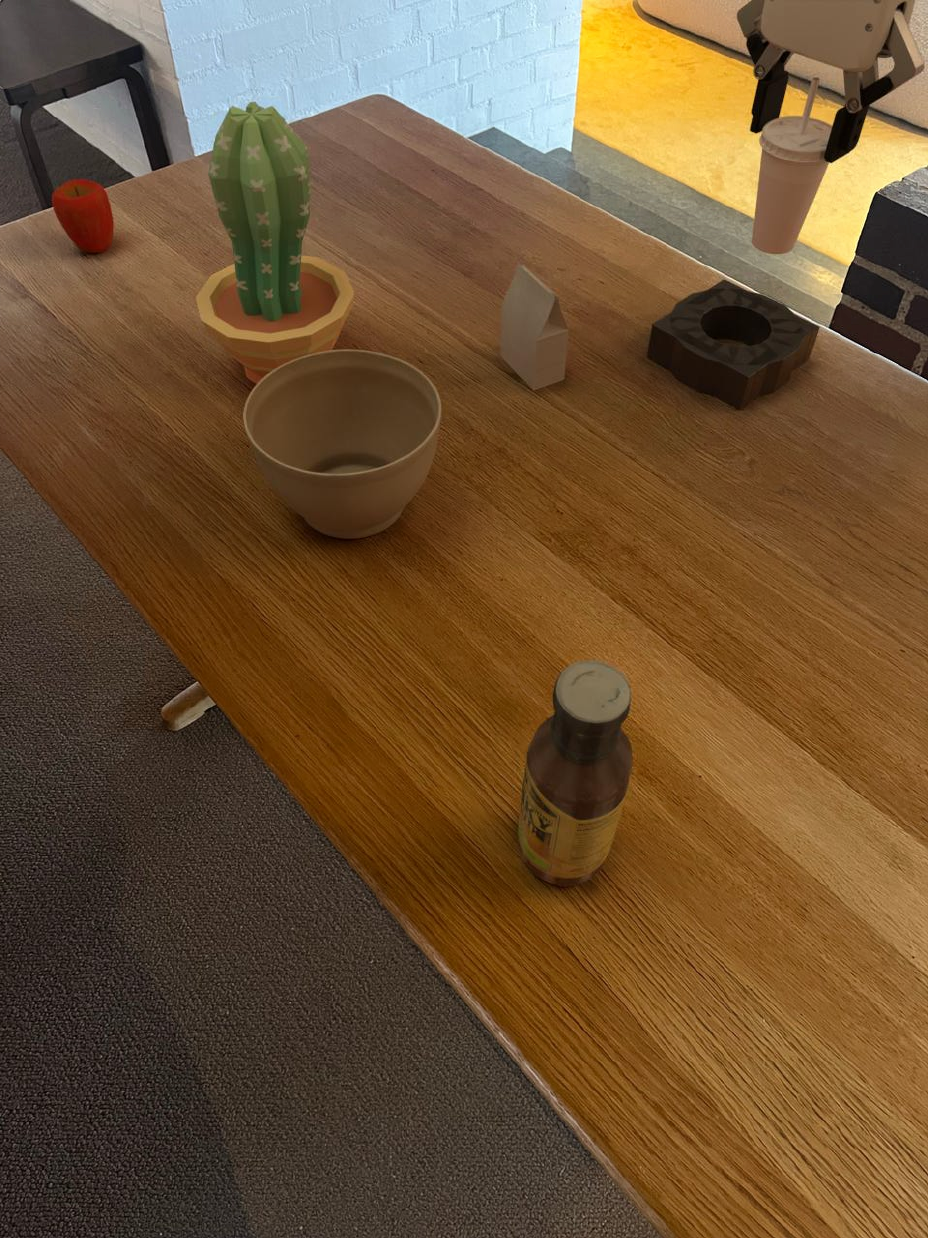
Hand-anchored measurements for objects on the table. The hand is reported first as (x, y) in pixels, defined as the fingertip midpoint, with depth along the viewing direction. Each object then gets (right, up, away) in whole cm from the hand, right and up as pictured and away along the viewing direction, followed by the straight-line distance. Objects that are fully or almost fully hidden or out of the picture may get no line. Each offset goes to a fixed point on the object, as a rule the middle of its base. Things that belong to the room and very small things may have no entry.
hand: (799, 139), depth 79 cm
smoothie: (0, -6, +7) cm, 9 cm away
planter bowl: (-38, -29, +8) cm, 48 cm away
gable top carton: (-21, -13, +21) cm, 32 cm away
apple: (-72, +5, +36) cm, 80 cm away
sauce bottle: (-21, -55, -13) cm, 60 cm away
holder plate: (0, -12, +22) cm, 25 cm away
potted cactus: (-46, -13, +21) cm, 52 cm away
